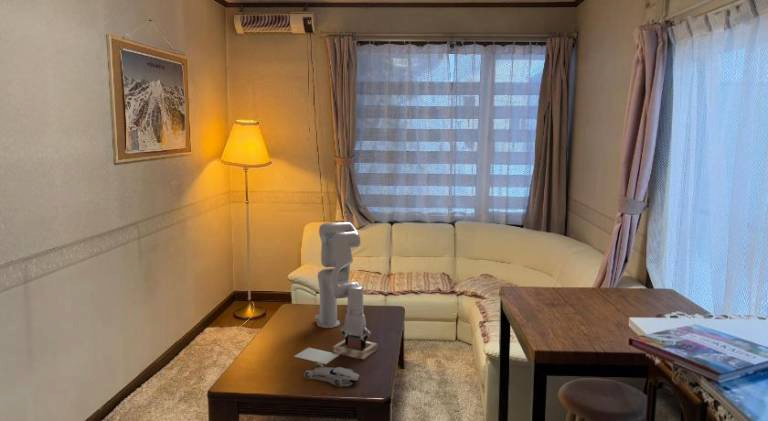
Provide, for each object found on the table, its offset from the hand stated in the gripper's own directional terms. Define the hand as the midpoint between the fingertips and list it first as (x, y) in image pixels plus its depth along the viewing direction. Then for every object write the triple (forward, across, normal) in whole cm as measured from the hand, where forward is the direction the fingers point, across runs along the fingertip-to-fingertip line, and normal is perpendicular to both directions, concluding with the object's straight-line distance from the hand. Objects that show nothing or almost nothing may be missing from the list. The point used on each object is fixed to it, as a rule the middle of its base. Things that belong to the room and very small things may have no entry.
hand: (355, 345), depth 260 cm
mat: (+3, -13, -14) cm, 19 cm away
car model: (+3, +6, -30) cm, 31 cm away
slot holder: (+3, 0, 0) cm, 3 cm away
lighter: (+3, 0, 0) cm, 3 cm away
